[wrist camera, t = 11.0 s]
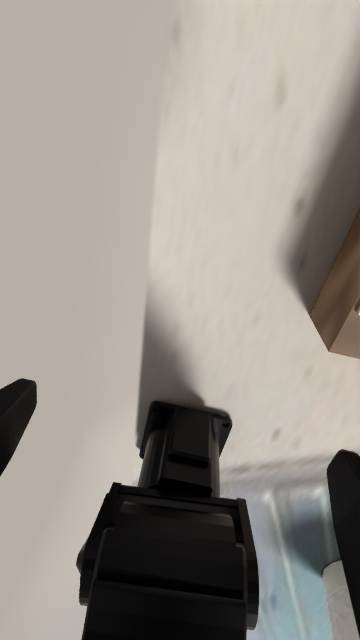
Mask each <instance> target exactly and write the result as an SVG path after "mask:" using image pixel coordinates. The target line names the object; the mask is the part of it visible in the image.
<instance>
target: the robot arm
mask: <svg viewBox="0 0 360 640" xmlns="http://www.w3.org/2000/svg"><path fill="white" fill-rule="evenodd" d="M36 389H37V386H36V382H35V381H32V380H28V379H23V378H22V379H19V380H17V381H15V382H13V383H11V384H9V385H7V386H5V387H4V388H2V389H0V476H1V474H2V473H3V471H4V469H5V468H6V466H7V464H8V463H9V461H10V459H11V458H12V456H13V454H14V452H15V450H16V448H17V446H18V443H19V441H20V439H21V437H22V435H23V433H24V430H25V429H26V427H27V425H28V423H29V420H30V418H31V416H32V414H33V412H34V410H35V407H36V404H37V390H36ZM155 407H157V408H158V409H156V408H155ZM224 423H227V424H224ZM231 428H232V420H231V419H230V418H229V417H225V416H221V415H216V414H212V413H207V412H203V411H198V410H194V409H189V408H185V407H181V406H176V405H172V404H167V403H163V402H158V401H155V402H152V403H151V405H150V409H149V414H148V418H147V423H146V427H145V432H144V436H143V440H142V445H141V449H140V454H139V456H140V458H142V459H143V464H142V468H141V473H140V478H139V482H138V487H135V486H126V485H122V484H121V483H115V482H113V484H112V487H111V489H110V492H109V493H107V494H106V497H105V498H104V501H103V504H102V506H101V509H100V511H99V513H98V516H97V518H96V521H95V523H94V526H93V528H92V530H91V533H90V535H89V537H88V539H87V540H86V542H85V544H84V545H83V547H82V549H81V550H80V552H79V554H78V558H77V562H76V566H77V568H78V570H79V572H80V574H81V576H80V590H79V592H80V593H79V602H80V605H85V606H87V612H86V618H85V623H84V629H83V635H82V640H246V632H247V629H249V630H254V629H255V627H256V624H257V618H258V608H259V576H258V564H257V557H256V551H255V546H254V541H253V535H252V530H251V525H250V520H249V515H248V510H247V505H246V500H245V499H241V498H237V499H229V498H221V497H220V482H219V457H220V455H221V452H222V450H223V448H224V445H225V443H226V440H227V438H228V436H229V433H230V431H231ZM327 479H328V487H329V495H330V502H331V510H332V518H333V524H334V530H335V535H336V539H337V544H338V548H339V552H340V557H341V561H342V565H343V569H344V574H345V578H346V582H347V587H348V591H349V595H350V600H351V604H352V608H353V613H354V617H355V621H356V626H357V630H358V634H359V638H360V456H359V455H358V454H357V453H355V452H353V451H348V450H344V449H341V450H339V451H338V452H337V454H336V455H335V457H334V458H333V460H332V461H331V463H330V464H329V466H328V468H327Z"/></svg>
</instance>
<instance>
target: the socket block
mask: <svg viewBox="0 0 360 640" xmlns="http://www.w3.org/2000/svg"><path fill="white" fill-rule="evenodd" d="M309 316H310V318H311V320H312V322H313V323H314V325H315V327H316V329H317V331H318V333H319V335H320V336H321V338H322V340H323V342H324V344H325V346H326V348H327V349H328V351H329V352H332V353H336V354H341V355H345V356H349V357H354V358H358V359H360V209H359V211H358V214H357V216H356V218H355V220H354V222H353V224H352V226H351V228H350V231H349V233H348V235H347V237H346V239H345V241H344V243H343V245H342V247H341V250H340V252H339V254H338V256H337V258H336V260H335V262H334V264H333V267H332V269H331V271H330V273H329V275H328V277H327V279H326V281H325V284H324V286H323V288H322V290H321V292H320V294H319V296H318V298H317V300H316V303H315V305H314V307H313V309H312V311H311V313H310V315H309Z"/></svg>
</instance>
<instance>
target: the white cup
mask: <svg viewBox="0 0 360 640" xmlns="http://www.w3.org/2000/svg"><path fill="white" fill-rule="evenodd" d="M322 579H323V584H324V588H325V593H326V597H327V601H328V611H329V617H330V621H331V625H332V633H333V639H334V640H360V638H359V634H358V630H357V626H356V621H355V617H354V613H353V608H352V604H351V600H350V595H349V591H348V587H347V582H346V578H345V574H344V569H343V565H342V561H341V560H339V561H336V562H333V563H331V564H330V565H329V566H327V567H326V568H325V569H324V571H323V575H322Z"/></svg>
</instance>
